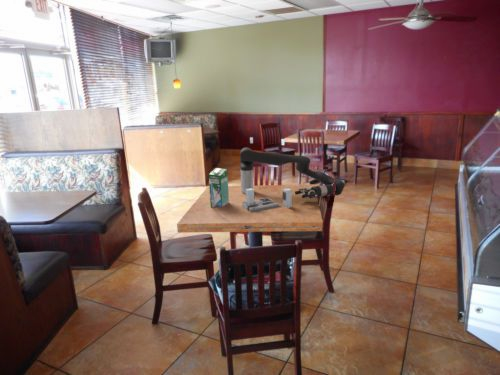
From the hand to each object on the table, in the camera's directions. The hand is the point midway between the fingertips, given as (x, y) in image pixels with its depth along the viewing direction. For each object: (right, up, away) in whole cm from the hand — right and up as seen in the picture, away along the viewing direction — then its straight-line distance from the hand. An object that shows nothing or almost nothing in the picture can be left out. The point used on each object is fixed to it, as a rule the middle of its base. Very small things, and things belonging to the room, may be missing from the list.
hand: (298, 194), depth 237 cm
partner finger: (-32, -8, -5) cm, 33 cm away
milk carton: (-52, -8, +4) cm, 53 cm away
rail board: (-25, -9, -3) cm, 26 cm away
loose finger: (-8, -8, -2) cm, 11 cm away
